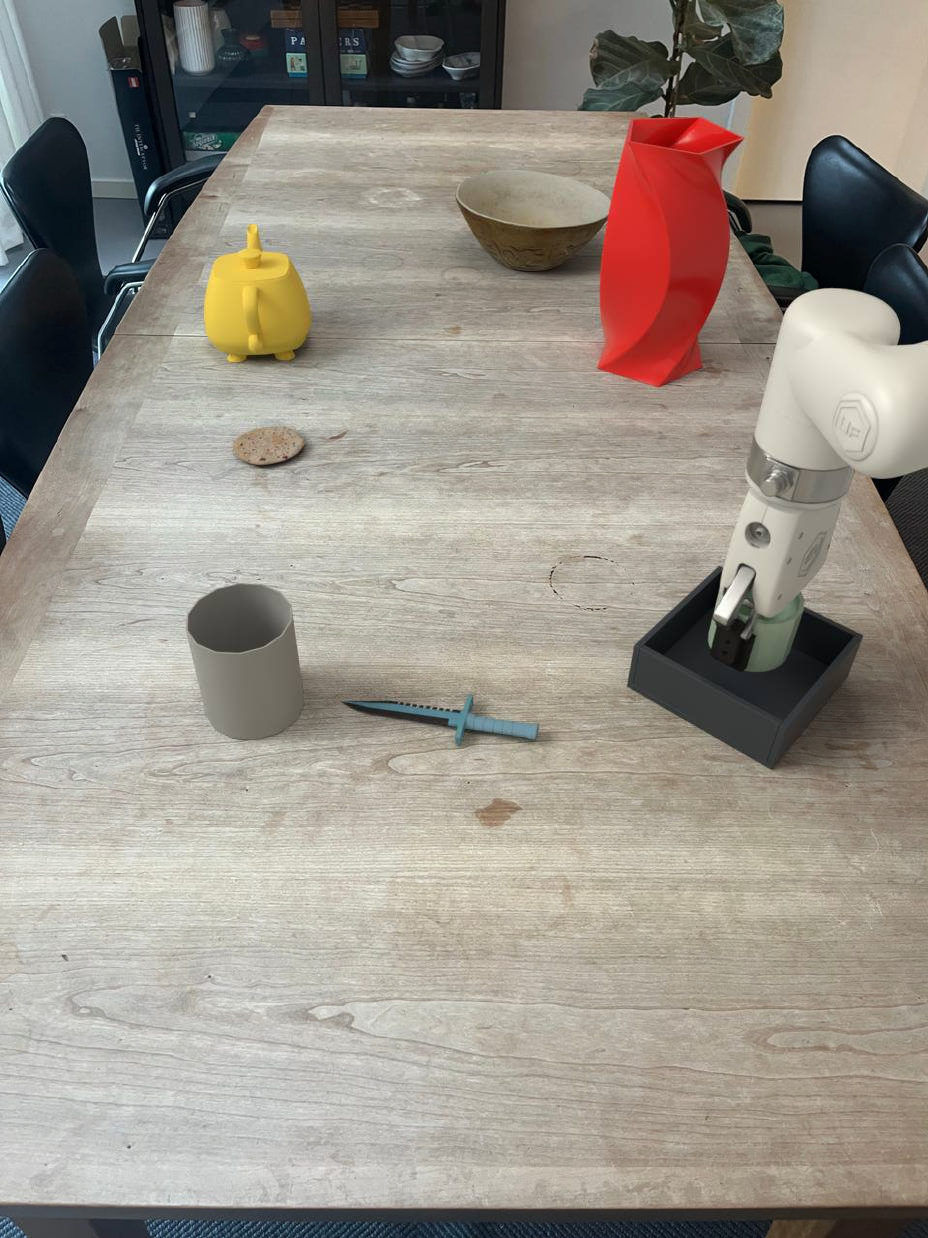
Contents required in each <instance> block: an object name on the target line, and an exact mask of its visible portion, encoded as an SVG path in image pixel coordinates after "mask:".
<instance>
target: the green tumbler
mask: <svg viewBox="0 0 928 1238" xmlns="http://www.w3.org/2000/svg"><path fill="white" fill-rule="evenodd" d="M747 596H749V597H751V598H753V595H752V590H750V592H749V593H748V595H747ZM723 597H724V596H723V595H722V594H721V590H720V589H719V593H718V597H717V601H716V605H715V609H714V612H715V611H716V609H717V607H718V606H719V604H720V602H721V601H722V599H723ZM805 601H806V600H805V598H804V596H803V594H802V591H801V592H800V593H799V594H798V595H797V596H796V597H795V598H794V599H793V600H792V601H791V602H790V603H789V604H788V605H787V606H786V607H785V608H784V609H783V610H782V611H781V612H780V613H779V614H777V615H776V616H773V617H770V618H766V617H764V616H763V615H761V616H760V618H759V620H758V622H757V624H756V626H755V629H754V631H753V634H754V635H756V638H755V642H754V645H753V649H752V652H751V655H750V659H749V662H748V666H747V668H746V669H745V670H744V671H749V672H765V671H769V670H773V669H775V668H777V667H779V666H780V665H781V664H783V663H784V661H785V660H786V659H787V656H788V654H789V653H790V650H791V647H792V644H793V640H794V637H795V634H796V631H797V628H798V625H799V622H800V619H801V616H802V613H803V610H804V607H805ZM750 613H751V609H749V608H747V607H745V606H743V605H741V607H740V609H739V611H738V613H737V618H738V619H740V620H742V621H743V622H744V623H746V621H747V619H748V617H749V615H750ZM713 614H714V613H713ZM712 618H713V617H712ZM715 630H716V623H715V621H714V620H713V619H712V621H711V625H710V629H709V633H708V643H709V646H710V648H711V646H712V642H713V638H714V634H715Z"/></svg>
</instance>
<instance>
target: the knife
mask: <svg viewBox="0 0 928 1238" xmlns="http://www.w3.org/2000/svg"><path fill="white" fill-rule="evenodd" d="M340 702H341V703H343V704H345V705H346V706H348V707H349V708H352V709H354V710H356V711H359V712H362V713H365V714H371V715H378V716H385V717H393V718H397V719H399V718H400V719H405V720H414V721H419V722H420V721H421V722H427V723H434V724H442V725H447V726H448V727H454V728H456V733H455V737H454V739H455V741H454V742H455V745H457V746H461V745H462V741H463V740H464V736H465V733H466V730H471V731H473V730H474V731H477V732H486V733H492V734H498V735H499V734H500V735H502V734H503V735H507V736H514V737H520V738H527V739H528V740H533V741H536V740H537V738H538V734H539V727H540V726H539V723H535V722H534V723H528V722H521V721H515V720H508V719H507V720H505V719H502V718H501V719H500V718H497V719H496V718H493V717H486V716H479V715H478V716H477V715H475V714H474V713H472V710H473V709H472V708H473V705H474V694H470V693H468V694H467V697H466V700H465V703H464V706H463V708H461V709H452V710H451V708H446V709H444V707H439V709H438V707H437V706H433V707H432V708H431V705H426V706H425V707H424V704H419V706H418V704H417V703H413V704H412V705H411V702H406V703H405V702H403V701H400V702H399V701H397V700H396V701H395V700H345V701H344V700H341V701H340Z"/></svg>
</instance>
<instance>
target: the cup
mask: <svg viewBox="0 0 928 1238" xmlns="http://www.w3.org/2000/svg"><path fill="white" fill-rule="evenodd" d="M185 632H186V637H187V641H188V645H189V646H188V647H189V649H190V653H191V658H192V661H193V666H194V671H195V675H196V679H197V683H198V687H199V693H200V695H201V700H202V704H203V708H204V712H205V716H206V718H207V719H208V721H209V723H210V724H211V726H212V727H213V729H214V730H215V731H217V732H218V733H221V734H223V735H225V736H227V737H229V738H231V739H234V740H249V741H250V740H251V741H257V740H261V739H264V738H265V739H266V738H268V737H272V736H275V735H278V734H280V733H281V732H283V731H284V730H286V729H287V728H288V727H289V726H291V725H292V724H293V723H295V722H297V719H298V717H299V715H300V714H301V712H302V710H303V708H304V706H305V700H304V699H305V698H304V686H303V678H302V674H301V672H302V671H301V664H300V657H299V651H298V650H299V649H298V644H297V643H298V642H297V636H296V629H295V621H294V613H293V607H292V603H291V602H290V600H288V599H287V597H286V596H285V595H284V594H283V593H282V591H280V590H278V589H275V588H273V587H270V586H267V585H265V584H263V583H251V582H250V583H247V582H245V583H244V582H238V583H237V582H236V583H233V584H228V585H225V586H220V587H217V588H215V589H213V590H212V591H210V592H208V593H206V594H205V595H203V596H201V597H199V598H198V599H197V600H196V601H195V603H194V604H193V606H192V607H191V608H190V609H189V611H188V612H187V613H186V621H185Z"/></svg>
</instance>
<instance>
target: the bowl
mask: <svg viewBox="0 0 928 1238" xmlns="http://www.w3.org/2000/svg"><path fill="white" fill-rule="evenodd" d="M454 197H455V201H456V203H457V206H458V208H459V210H460V212H461V214H462V216H463V218H464V220H465V222H466V224H467V225H468V228H469V229H470V231H471V233H472V234H473V236H474V237H475V239H476V240H477V242H478V243H479V245H480V246H481V247H482V248H483V249H484V251H485V252H486V253H487V254H488V255H489V256H490V257H491V258H492V259H493V260H494V261H495V262H496V263H498V264H500V265H502V266H504V267H506V268H509V269H513V270H518V271H527V272H535V271H548V270H552V269H555V268H556V267H559V266H560V265H563V264H564V263H565V262H567V261H568V260H570V259H571V258H572V257H574V256H575V255H576V254H577V253H578V252H580V251H581V250H582V249H583V248H584V247H585V246H586V245H588V243H589V242H590V241H592V240H593V238H594V237H595V236H596V235H598V233H599V232H600V231H601V229H602V228H603V226H604V225H606V224H607V219H608V214H609V209H610V204H611V199H610V198H609V197H608V196H607V194H605V193H604V192H603V191H601V190H599V189H597V188H595V187H594V186H591V185H589V184H587V183H584V182H582V181H580V180H576V179H574V178H570V177H566V176H562V175H557V174H553V173H546V172H538V171H531V170H523V169H505V168H504V169H493V170H487V171H484V172H480V173H478V174H475V175H472V176H470V177H468V178H466V179H463V180H462V181H461V182H460V183H459V184H458V186H457V187H456V190H455V194H454Z"/></svg>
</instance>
